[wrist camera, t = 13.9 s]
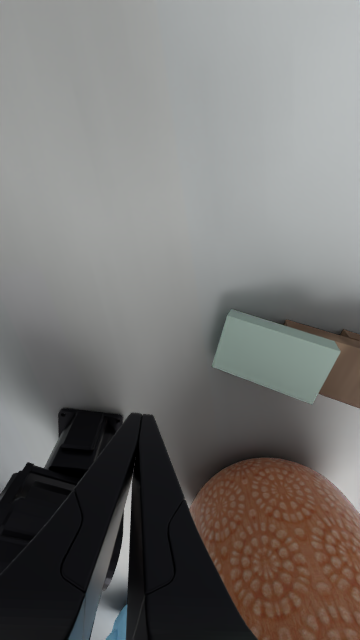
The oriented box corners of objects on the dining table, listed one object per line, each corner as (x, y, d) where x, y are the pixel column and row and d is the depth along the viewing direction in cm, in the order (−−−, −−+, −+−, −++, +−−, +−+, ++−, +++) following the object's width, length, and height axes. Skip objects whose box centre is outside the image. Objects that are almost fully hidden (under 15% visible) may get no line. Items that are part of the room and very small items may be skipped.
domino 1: (231, 308, 22) (334, 341, 19) (216, 356, 23) (309, 390, 21) (227, 315, 20) (340, 351, 18) (211, 366, 22) (312, 404, 20)
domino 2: (285, 319, 22) (391, 350, 20) (267, 364, 24) (361, 397, 22) (287, 326, 20) (403, 361, 18) (266, 375, 22) (369, 411, 20)
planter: (300, 538, 37) (415, 831, 19) (163, 529, 35) (154, 848, 17) (365, 439, 29) (663, 789, 11) (191, 420, 27) (229, 811, 9)
